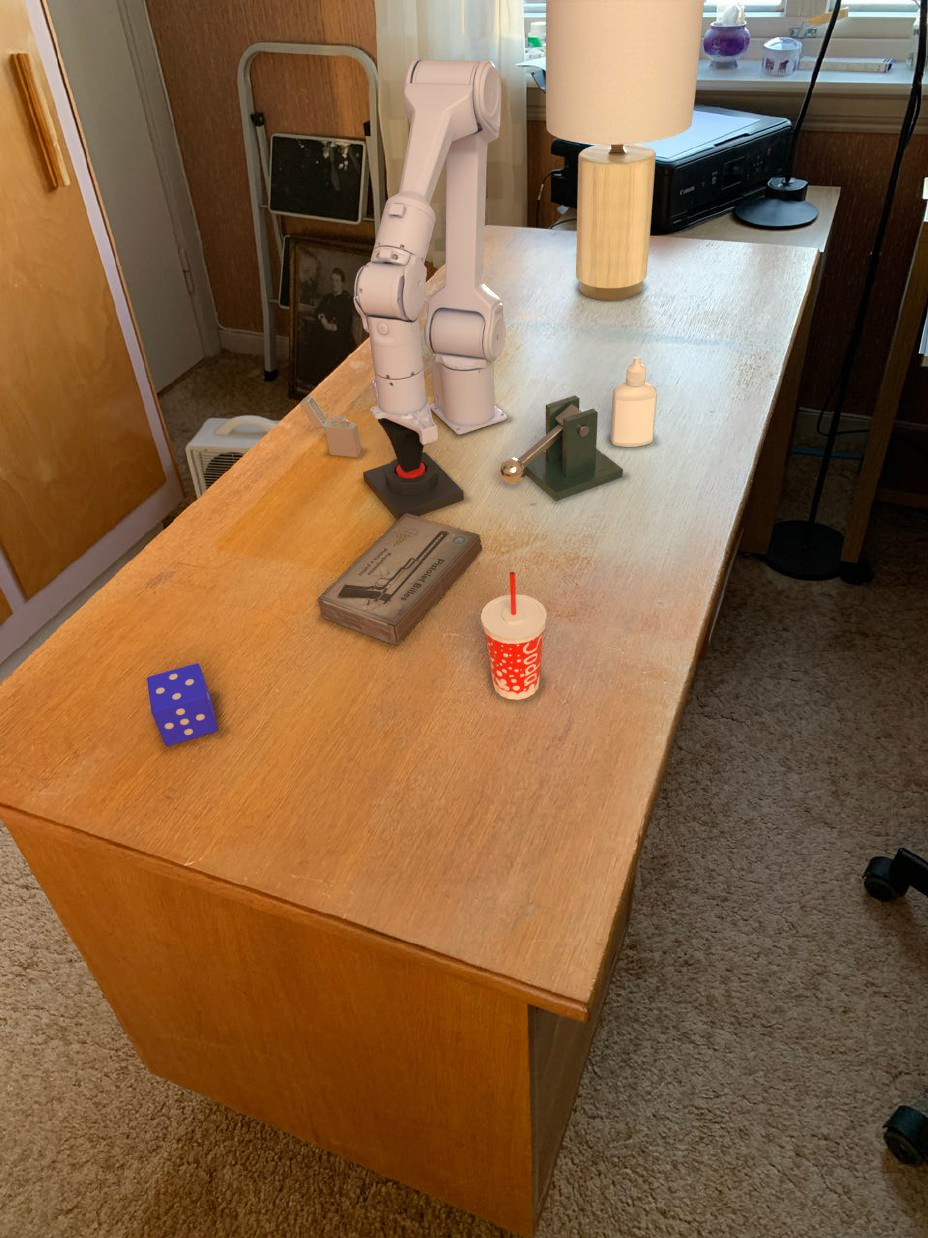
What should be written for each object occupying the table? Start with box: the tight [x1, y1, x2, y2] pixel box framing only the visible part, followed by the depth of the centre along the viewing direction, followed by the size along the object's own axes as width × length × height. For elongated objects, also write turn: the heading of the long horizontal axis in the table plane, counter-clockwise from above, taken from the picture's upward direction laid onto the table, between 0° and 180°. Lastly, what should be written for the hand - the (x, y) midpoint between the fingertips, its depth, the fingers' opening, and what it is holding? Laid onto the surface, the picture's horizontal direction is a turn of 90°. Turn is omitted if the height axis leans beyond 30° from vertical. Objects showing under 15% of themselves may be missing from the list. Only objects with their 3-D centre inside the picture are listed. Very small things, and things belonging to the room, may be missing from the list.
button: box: [396, 462, 425, 478], centre depth 115 cm, size 4×4×2 cm
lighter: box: [299, 394, 362, 458], centre depth 123 cm, size 7×2×8 cm, turn 74°
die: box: [146, 662, 219, 747], centre depth 88 cm, size 5×5×5 cm
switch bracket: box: [525, 394, 624, 502], centre depth 115 cm, size 10×9×9 cm
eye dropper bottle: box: [609, 356, 658, 448], centre depth 119 cm, size 4×6×12 cm
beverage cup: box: [480, 571, 548, 701], centre depth 86 cm, size 6×6×14 cm
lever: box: [499, 404, 582, 485], centre depth 113 cm, size 12×3×3 cm, turn 117°
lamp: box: [545, 0, 705, 301], centre depth 146 cm, size 23×23×44 cm
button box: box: [362, 451, 465, 521], centre depth 116 cm, size 11×9×3 cm
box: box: [316, 513, 483, 646], centre depth 101 cm, size 11×17×3 cm, turn 148°
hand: (410, 468), depth 115 cm, fingers closed, pressing on button
